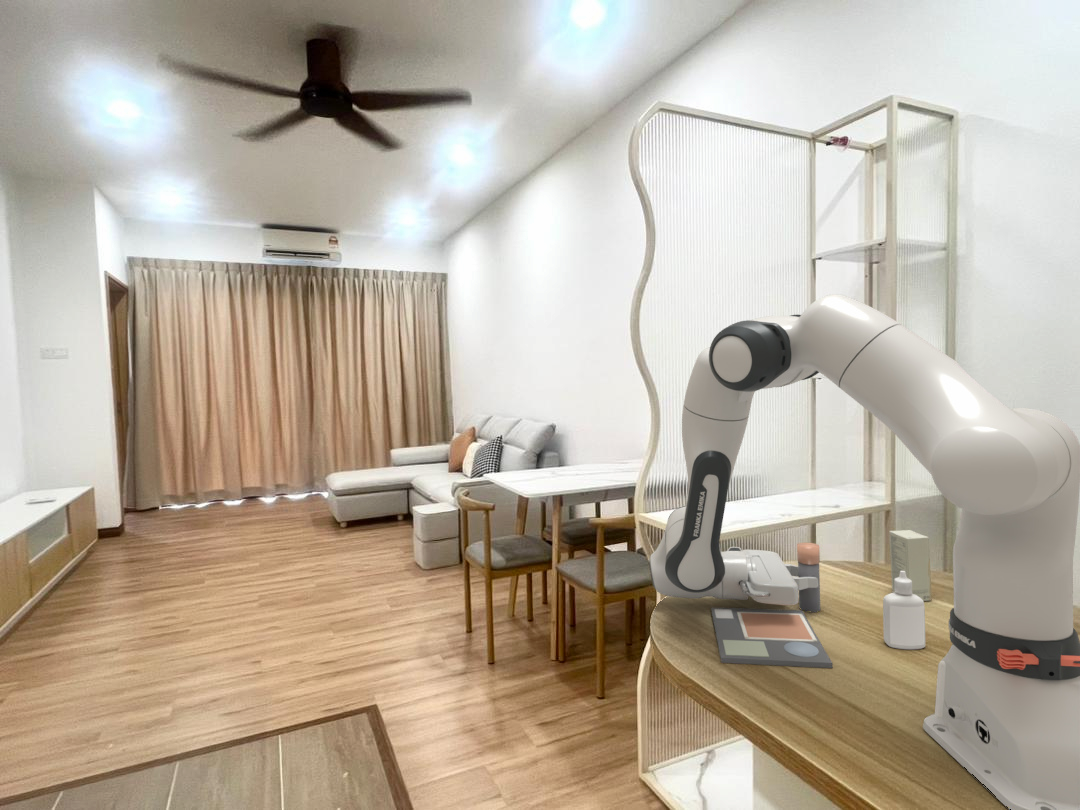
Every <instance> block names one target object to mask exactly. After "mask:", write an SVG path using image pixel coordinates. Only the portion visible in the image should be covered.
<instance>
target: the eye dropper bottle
mask: <svg viewBox="0 0 1080 810" xmlns="http://www.w3.org/2000/svg"><path fill="white" fill-rule="evenodd" d="M894 591H895V592H893V591H892V592H889V593H888V594H886V595H884V597H883V600H882V609H883V610H882V614H883V615H882V616H883V617H882V621H883V625H882V626H883V641H884V642H885V643H886V645H887V646H888V647H890V648H894V649H899V650H920V649H923V648H925V647H926V614H925V613H926V609H925V601H923V600H922V599H921V598H920V597H919V596H917V595H914V594H912V581H911V580H910V579H908V578H907V576H906V572H905V571H900V575H899V577H898V578H895V579H894Z"/></svg>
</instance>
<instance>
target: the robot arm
mask: <svg viewBox="0 0 1080 810" xmlns="http://www.w3.org/2000/svg"><path fill="white" fill-rule="evenodd" d="M691 370H692V371H691V374H690V377H689V380H688V383H687V387H686V391H685V396H684V399H683V400H684V401H683V406H682V413H681V439H682V441H681V443H682V447H683V453H684V460H685V467H686V472H687V497H686V504H685V505H683V506H681V507H677V508H676V509H675V510H673V511H672V512H671V513H669V516H668V519H667V522H666V525H665V529H664V532H663V535H662V538H661V541H660V543H659V544H658V546H657V548H656V549H655V550H654V552H652V553H651V555H650V557H649V562H648V565H649V573H650V574H649V575H650V579H651V582H652V586H653V587H654V589H655V591H656V592H658V594H661V595H664V596H665V597H666V596H667V597H671V598H680V599H681V598H682V599H702V598H706V597H709V598H715V599H719V600H735V601H736V600H738V601H747V600H748V599H749V597H750V598H752V600H753V601H755V602H756V603H761V604H767V605H768V604H770V605H778V606H779V605H780V606H794V605H799V590H802V589H806V588H817V587H818V579H817V578H816V576H810V575H806V577H798V565H795V564H792V563H784V561H783V560H782V558H781V556H780V554H779V553H778V552H775V551H771V550H770V551H769V550H762V549H749V548H748V549H742V548H741V547H739V546H731V547H729V548H728V549H727V550H724V551H722V549H721V545H720V540H721V539H720V538H721V533H722V527H723V522H724V514H725V509H726V505H727V503H726V502H727V497H728V492H729V486H730V483H731V480H732V476H733V473H734V469H735V466H736V462H737V459H738V455H739V452H740V449H741V446H742V443H743V440H744V437H745V434H746V430H747V425H748V421H749V417H750V413H751V412H750V411H751V407H752V401H753V398H754V394H755V393H756V391H757V392H758V391H760V390H764V389H765V390H766V389H773V388H781V387H785V386H789V385H792V384H795V383H797V382H800V381H805V380H808V379H811V378H813V377H814V376H816V375H818V374H822V375H823V376H824V377H826V379H828V380H829V381H831V382H832V383H833V384H834V385H835V386H837V387H838V388H839V389H840V390H842V391H843V392H844V393H845V394H846V395H848V396H849V397H850V398H852V399H853V400H854V401H855V402H856V403H858V404H859V405H860V406H862V407H863V408H864V409H866V410H867V411H868V412H869V413H870V414H871V415H873V416H874V417H876V418H877V419H878V420H879V421H880V422H882V423H883V425H885V426H886V427H887V428H888V429H889V430H891V432H892V433H894V435H896V437H897V438H898V439H899V440H900V442H902V443H903V445H904V446H905V447H906V448H907V449H908V451H909V452H910V453H911V454H912V455H913V456H914V457H915V459H917V461H918V462H919V463H920V464H921V465H922V466H923V468H925V470H926V471H927V472H928V473H930V476H932V480H933V482H934V485H935V487H936V488H937V490H938V491H939V492H940V494H941V495H942V496H943V497H944V498H945V499H946V500H947V501H949V503H951V504H953V505H954V506H956V507H958V508H959V509H961V512H960V513H961V515H960V518H959V525H958V529H957V530H958V531H957V535H956V538H955V541H954V544H953V548H952V568H953V569H952V575H953V577H952V578H953V581H952V583H953V607H952V608H951V610H950V612H949V619H948V629H949V640H950V642H951V643H952V645H951V647H950V648H949V651H948V652H947V654H946V655H945V656H944V657H942V659H941V660H940V662H938V666H937V676H936V678H937V679H936V688H935V689H936V692H935V705H934V706H935V707H934V713H932V714H930V715H928V716H926V717H925V718H924V720H923V725H922V728H923V730H924V731H925V732H926V733H927V734H928V735H929V736H930V737H931V738H932V739H934V740H935V742H936V743H938V744H939V745H940V746H941V747H942V748H943V749H944V750H945V751H946V752H947V753H948V754H949V755H950V756H952V758H954V759H955V760H956V762H958V763H959V764H960V765H961V766H962V767H963V768H964V767H965V768H966V769H967V770H966V769H965V768H964V769H965V770H966V771H968V773H970V774H971V775H972V774H973V775H974V776H975V777H976V778H977V779H978V780H979V781H980V782H981V783H982V784H984V785H985V786H986V787H987V788H988V789H989V790H990V791H991V792H992V793H993V794H994V795H995V796H996V797H995V796H994V795H993V794H992V793H991V792H990V791H989V790H988V789H987V788H986V787H985V786H984V785H983V786H984V787H985V788H986V789H987V790H988V791H989V792H990V793H991V794H992V795H993V796H994V797H995V798H996V799H998V800H999V801H1000V803H1002V804H1003V805H1004V806H1005V807H1006V806H1007V807H1009V808H1008V810H1010V809H1011V810H1080V637H1079V633H1078V632H1077V630H1076V629H1075V627H1074V593H1073V592H1074V591H1073V590H1074V587H1073V585H1074V584H1073V583H1074V582H1073V581H1074V572H1073V571H1074V570H1073V569H1074V553H1075V545H1076V537H1077V536H1076V535H1077V527H1078V526H1077V525H1078V515H1079V514H1078V513H1079V503H1080V441H1079V439H1078V437H1077V435H1076V434H1075V432H1074V431H1073V429H1072V428H1071V427H1070V426H1069V425H1068V424H1066V422H1065V421H1064V420H1062V419H1060V418H1059V417H1057V416H1055V415H1053V414H1051V413H1048V412H1046V411H1043V410H1041V409H1040V410H1039V409H1034V408H1028V407H1016V408H1015V407H1013V408H1010V407H1008V406H1007V405H1005V404H1004V403H1002V402H1001V401H1000V400H998V398H996V397H995V396H994V395H993V394H992V393H990V392H989V391H988V390H987V389H985V388H984V387H983V386H982V385H981V384H979V383H978V382H977V381H976V380H975V379H974V378H973V377H972V376H971V375H969V374H968V373H967V371H965V369H963V367H961V365H960V363H959V362H957V361H956V359H953V358H952V357H950V356H949V355H947V354H946V353H945V352H943V351H941V350H940V349H938V347H936V346H934V345H933V344H931V343H929V342H928V341H926V340H925V339H924V338H922V337H920V336H919V335H918V334H916V333H915V332H913V331H911V330H910V329H909V328H907V327H906V326H905V325H903V324H902V323H900V322H898V321H897V320H895V319H893V318H892V317H890V316H889V315H886V314H885V313H883V312H882V311H880V310H878V309H876V308H875V307H874V308H873V307H872V306H870V305H868V304H867V303H864V302H861V301H859V300H857V299H855V298H852V297H849V296H847V295H844V294H838V293H833V294H828V295H824V296H821V297H819V298H818V299H816V300H814V301H813V302H812V303H811V304H809V305H808V306H807V307H806V308H805V310H804V311H803V312H802V313H801V314H791V315H766V316H762V317H758V318H754V319H750V320H748V319H747V320H741V321H737V322H735V323H732V324H730V325H728V326H727V327H725V328H723V329H722V330H721V331H719V332H718V333H717V334H715V336H714V338H713V339H712V342H711V343H710V346H709V347H707V348H705V349H703V351H701V352H699V354H698V356H697V358H696V360H695V363H694V365H693V368H692V369H691ZM973 775H972V776H973ZM974 776H973V777H974ZM975 777H974V778H975ZM976 778H975V779H976ZM977 779H976V780H977ZM978 780H977V781H978ZM979 781H978V782H979ZM980 782H979V783H980ZM981 783H980V784H981ZM982 784H981V785H982ZM1007 807H1006V808H1007Z"/></svg>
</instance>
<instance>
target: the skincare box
mask: <svg viewBox="0 0 1080 810" xmlns="http://www.w3.org/2000/svg"><path fill="white" fill-rule="evenodd" d="M888 534H889V550H890V551H889V554H890V573H891V574H890V575H891V577H890V578H891V590H892V593H893V592H895V591H894V579H895V578H898V577H899V575H900V571H905V572H906V576H907V578H908V579H910V580H911V581H912V594H914V595H917V596H919V597H920V598H921V599H922V600H923V601H924V602H929V601H932V600H933V598H932V597H933V596H932V595H933V594H932V577H931V575H932V574H931V557H930V556H931V555H930V537H929V536H928V535H927V536H926V535H924V534H921V533H919V532H916V531H914V530H911V529H903V530H902V529H901V530H889V533H888Z"/></svg>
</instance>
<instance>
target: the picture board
mask: <svg viewBox="0 0 1080 810" xmlns="http://www.w3.org/2000/svg"><path fill="white" fill-rule="evenodd" d="M710 611H712V612H711V616H713V617H712V622H713V626H714V627H713V628H714V632H716V633H715V637H716V642H717V645H718V646H717V647H718V652H719V656H720V657H719V658H720V662H721V664H722V663H724V664H740V665H741V664H743V665H760V666H761V665H762V666H763V665H764V666H780V667H781V666H782V667H783V666H785V667H801V668H802V667H803V668H822V669H825V668H826V669H833V661H832V660H831V658H830V657H829V654H828V653H827V652H826V649H825V648H824V646H823V644H822V642H821V640H820V639H819V638H818V636H817V634H816V633H815V630H814V629H813V626H812V625H811V624H810V623H811V622H809V620H808V618H807V616H806V615H805V613H804V611H803V610H801V609H774V608H773V609H771V608H743V607H741V608H739V607H737V608H736V607H711V610H710Z"/></svg>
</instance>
